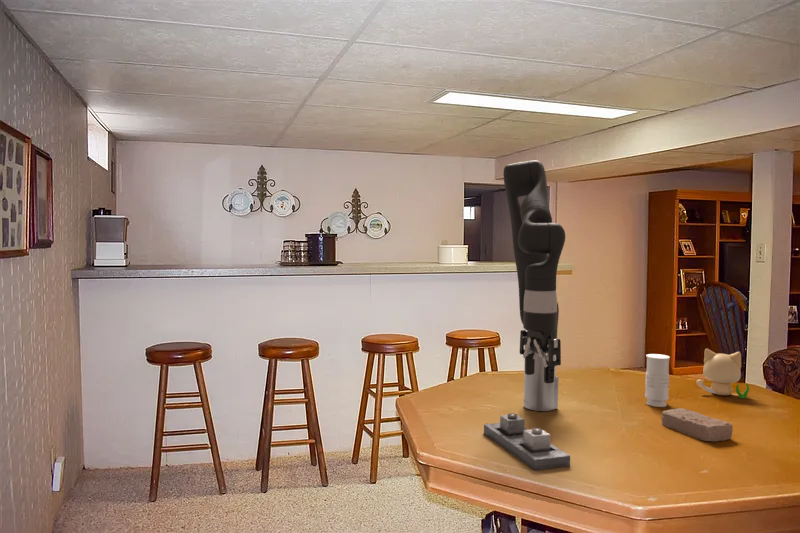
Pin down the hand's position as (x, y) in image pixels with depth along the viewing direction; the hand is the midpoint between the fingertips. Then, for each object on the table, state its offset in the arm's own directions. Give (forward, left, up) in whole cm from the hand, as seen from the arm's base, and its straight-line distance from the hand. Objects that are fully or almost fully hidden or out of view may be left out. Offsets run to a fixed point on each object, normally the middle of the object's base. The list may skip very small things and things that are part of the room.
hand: (538, 378), depth 142 cm
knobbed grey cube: (0, -12, -19) cm, 22 cm away
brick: (-50, -4, -19) cm, 54 cm away
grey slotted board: (0, -6, -19) cm, 20 cm away
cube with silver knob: (0, 0, -19) cm, 19 cm away
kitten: (-88, -32, -19) cm, 95 cm away
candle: (-59, -29, -19) cm, 68 cm away
